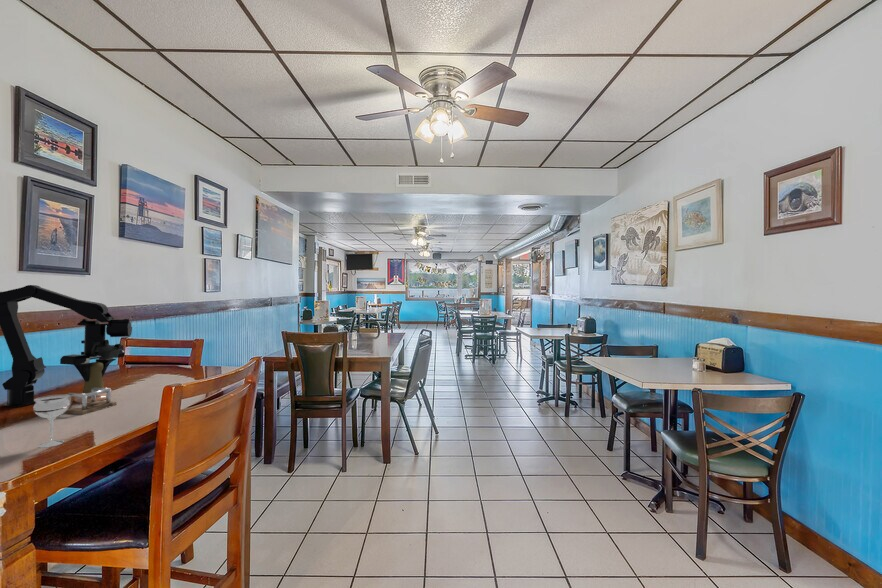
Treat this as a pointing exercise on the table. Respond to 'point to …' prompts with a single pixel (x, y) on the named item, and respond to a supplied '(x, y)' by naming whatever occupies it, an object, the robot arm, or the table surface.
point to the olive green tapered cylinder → (94, 377)
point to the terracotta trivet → (98, 398)
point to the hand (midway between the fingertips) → (93, 380)
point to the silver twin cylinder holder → (93, 394)
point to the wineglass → (51, 412)
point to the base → (94, 407)
